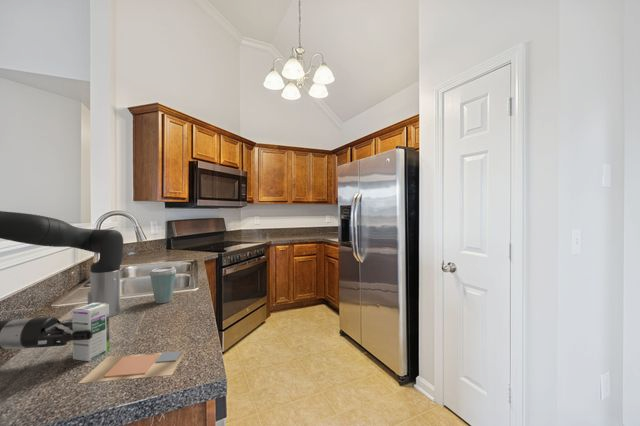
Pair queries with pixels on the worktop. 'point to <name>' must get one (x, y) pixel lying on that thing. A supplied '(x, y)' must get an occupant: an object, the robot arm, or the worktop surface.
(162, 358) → the slate tile
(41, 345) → the robot arm
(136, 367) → the terracotta pad
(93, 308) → the syrup box
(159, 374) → the oak board
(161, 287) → the disposable coffee cup
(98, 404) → the worktop surface
